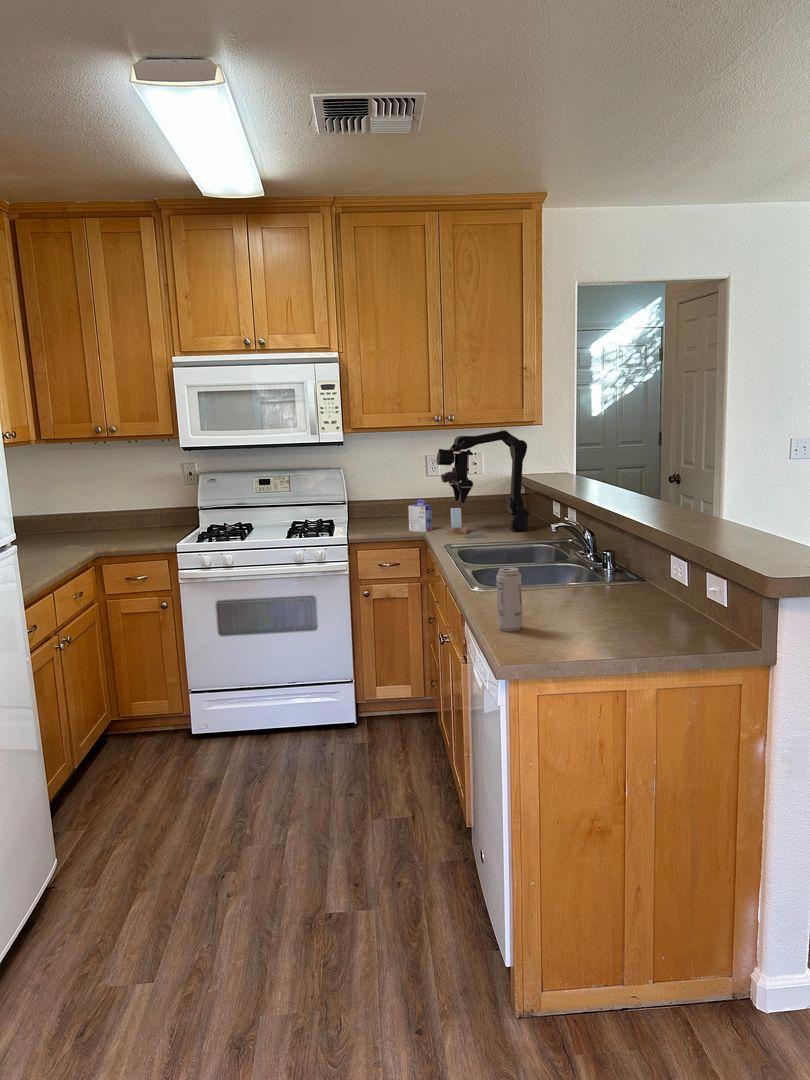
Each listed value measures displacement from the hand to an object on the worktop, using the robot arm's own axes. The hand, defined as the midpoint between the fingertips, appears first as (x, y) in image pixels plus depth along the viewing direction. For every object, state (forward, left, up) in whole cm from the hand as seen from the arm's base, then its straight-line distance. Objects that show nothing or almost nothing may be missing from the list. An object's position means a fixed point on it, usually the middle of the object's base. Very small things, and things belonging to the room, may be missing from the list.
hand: (459, 502), depth 323 cm
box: (+1, -3, -15) cm, 15 cm away
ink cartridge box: (+13, -20, -15) cm, 28 cm away
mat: (-4, +8, -15) cm, 17 cm away
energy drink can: (+28, +139, -15) cm, 143 cm away
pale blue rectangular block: (+1, -3, -14) cm, 14 cm away
